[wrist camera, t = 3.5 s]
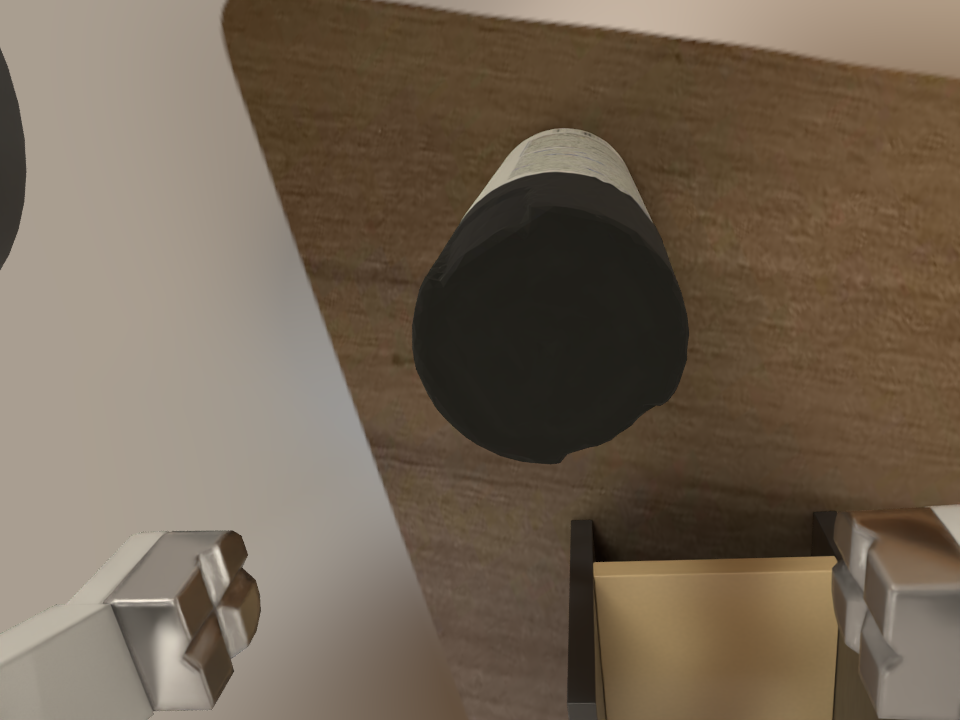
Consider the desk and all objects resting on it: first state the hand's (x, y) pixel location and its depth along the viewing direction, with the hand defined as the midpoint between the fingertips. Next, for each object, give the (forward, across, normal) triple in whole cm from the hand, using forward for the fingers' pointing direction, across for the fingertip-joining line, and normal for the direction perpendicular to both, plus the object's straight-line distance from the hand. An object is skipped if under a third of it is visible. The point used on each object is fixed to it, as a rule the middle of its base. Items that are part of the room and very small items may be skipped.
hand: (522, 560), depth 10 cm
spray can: (+28, 0, 0) cm, 28 cm away
